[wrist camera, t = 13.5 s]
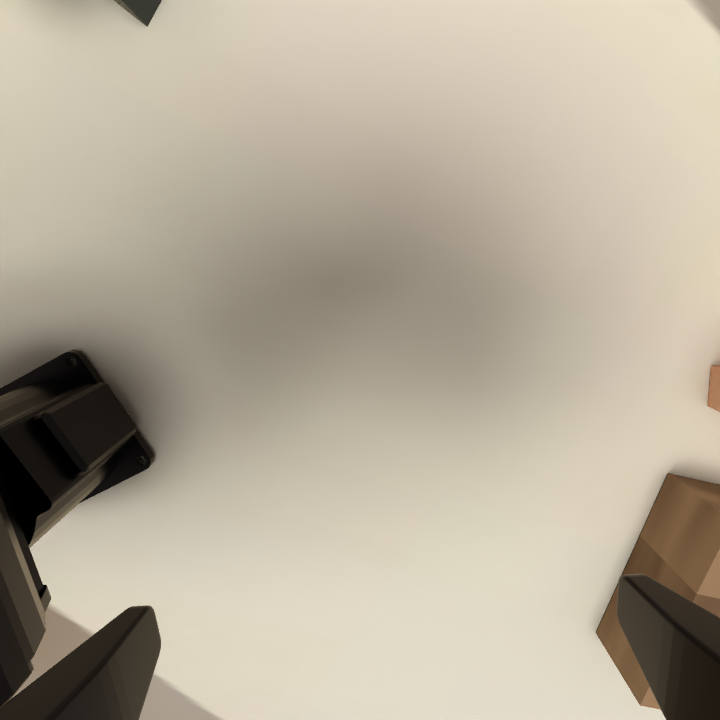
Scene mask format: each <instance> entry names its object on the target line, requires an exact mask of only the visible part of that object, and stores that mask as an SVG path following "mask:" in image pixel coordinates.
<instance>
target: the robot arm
mask: <svg viewBox="0 0 720 720" xmlns="http://www.w3.org/2000/svg"><path fill="white" fill-rule="evenodd" d="M71 357H72V358H74V359H75V360H76V362H77V366H76V365H74V364H73V363H72V361H71ZM139 456H142V457H144V458H145V460H146V462H143V461H141V460H140V458H139ZM153 462H154V454H153V452H152V451H151V449H150V448H149V446H148V445H147V444H146V442H145V441H144V439H143V438H142V436H141V435H140V433H139V432H138V431H137V429H136V425H135V424H134V423H133V421H132V420H131V418H130V417H129V415H128V414H127V412H126V411H125V410H124V408H123V407H122V405H121V404H120V402H119V401H118V399H117V398H116V397H115V395H114V394H113V392H112V391H111V389H110V388H109V386H108V385H107V384H105V383H104V382H103V380H102V379H101V377H100V376H99V374H98V373H97V371H96V370H95V369H94V367H93V366H92V364H91V363H90V361H89V360H88V358H87V357H86V356H85V355H84V354H83V353H82V352H81V351H79V350H72V351H69V352H66V353H64V354H62V355H60V356H58V357H57V358H55V359H53V360H51V361H49V362H48V363H46V364H44V365H42V366H40V367H39V368H37V369H35V370H33V371H31V372H30V373H28V374H26V375H24V376H22V377H21V378H19V379H17V380H15V381H13V382H12V383H10V384H8V385H6V386H4V387H3V388H1V389H0V720H139V717H140V714H141V711H142V708H143V705H144V701H145V698H146V695H147V692H148V689H149V685H150V682H151V679H152V676H153V673H154V670H155V666H156V663H157V660H158V657H159V653H160V649H161V638H160V633H159V629H158V625H157V620H156V616H155V612H154V609H153V608H152V607H151V606H133V607H130V608H128V609H126V610H125V611H124V612H122V613H121V614H120V615H118V616H117V617H116V618H115V619H113V620H112V621H111V622H109V623H108V624H107V625H106V626H104V627H103V628H102V629H101V630H99V631H98V632H97V633H95V634H94V635H93V636H92V637H90V638H89V639H88V640H86V641H85V642H84V643H83V644H81V645H80V646H79V647H78V648H76V649H75V650H74V651H72V652H71V653H70V654H68V655H67V656H66V657H65V658H63V659H62V660H61V661H59V662H58V663H57V664H56V665H54V666H53V667H52V668H51V669H49V670H48V671H47V672H45V673H44V674H43V675H42V676H40V677H39V678H38V679H36V680H35V681H34V682H33V683H31V684H30V685H29V686H27V687H26V688H25V689H24V690H22V691H21V692H20V693H19V694H18V695H16V696H15V697H13V696H14V694H15V693H16V692H17V691H18V689H19V688H20V687H21V686H22V685H23V683H24V682H25V681H26V680H27V678H28V677H29V675H30V674H31V673H32V671H33V669H34V668H33V664H32V661H31V659H32V658H33V656H34V655H35V652H36V650H37V648H38V646H39V644H40V642H41V640H42V638H43V635H44V633H45V631H46V627H45V626H46V623H45V612H46V609H47V607H48V605H49V602H50V600H51V596H50V593H49V590H48V587H47V586H46V585H43V584H42V581H41V578H40V576H39V573H38V570H37V568H36V565H35V562H34V560H33V557H32V554H31V552H30V549H29V548H30V547H31V546H32V545H33V544H34V543H36V542H37V541H38V540H39V539H40V538H41V537H42V536H43V535H44V534H45V533H47V532H48V531H49V530H50V529H51V528H52V527H53V526H54V525H55V524H56V523H57V522H59V521H60V520H61V519H62V518H63V517H64V516H65V515H66V514H67V513H68V512H70V511H71V510H72V509H73V508H74V507H75V506H76V505H77V504H79V503H81V502H83V501H85V500H87V499H88V498H90V497H92V496H94V495H96V494H98V493H100V492H102V491H104V490H106V489H108V488H110V487H112V486H114V485H116V484H118V483H120V482H122V481H124V480H126V479H128V478H130V477H132V476H134V475H136V474H138V473H140V472H142V471H144V470H146V469H147V468H149V467H150V466H151V465H152V464H153ZM616 610H617V618H618V621H619V624H620V626H621V628H622V630H623V632H624V634H625V637H626V639H627V641H628V643H629V645H630V647H631V649H632V651H633V653H634V655H635V657H636V659H637V661H638V664H639V666H640V668H641V670H642V672H643V674H644V676H645V678H646V680H647V682H648V684H649V686H650V688H651V691H652V693H653V695H654V697H655V699H656V701H657V703H658V705H659V707H660V709H661V711H662V713H663V714H664V716H665V718H666V720H720V617H718V616H716V615H714V614H713V613H711V612H709V611H707V610H706V609H704V608H702V607H700V606H699V605H697V604H695V603H694V602H692V601H690V600H688V599H687V598H685V597H683V596H681V595H680V594H678V593H676V592H674V591H673V590H671V589H669V588H668V587H666V586H664V585H662V584H661V583H659V582H657V581H655V580H654V579H652V578H650V577H648V576H646V575H644V574H628V575H622V576H621V577H620V579H619V583H618V596H617V608H616ZM12 697H13V698H12ZM11 698H12V699H11ZM10 699H11V700H10ZM9 700H10V701H9Z"/></svg>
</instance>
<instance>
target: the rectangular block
mask: <svg viewBox="0 0 720 720" xmlns="http://www.w3.org/2000/svg"><path fill="white" fill-rule="evenodd" d="M708 406H709V407H711V408H713V409H715V410H717V411H720V365H716V366H711V373H710V385H709V397H708Z"/></svg>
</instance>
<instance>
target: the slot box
mask: <svg viewBox="0 0 720 720" xmlns="http://www.w3.org/2000/svg"><path fill="white" fill-rule="evenodd" d="M628 574H644V575H646V576H648V577H650V578H652V579H654V580H655V581H657V582H659V583H661V584H662V585H664V586H666V587H668V588H669V589H671V590H673V591H674V592H676V593H678V594H680V595H681V596H683V597H685V598H687V599H688V600H690V601H692V602H694V603H695V604H697V605H699V606H700V607H702V608H704V609H706V610H707V611H709V612H711V613H713V614H714V615H716V616H718V617H720V485H717V484H713V483H708V482H704V481H699V480H695V479H691V478H686V477H682V476H677V475H673V474H668V475H667V477H666V479H665V481H664V484H663V486H662V488H661V490H660V493H659V495H658V497H657V499H656V501H655V504H654V506H653V508H652V510H651V512H650V515H649V517H648V519H647V521H646V523H645V526H644V528H643V530H642V532H641V535H640V537H639V539H638V541H637V543H636V546H635V548H634V550H633V552H632V554H631V557H630V559H629V561H628V563H627V565H626V568H625V570H624V572H623V574H622V575H628ZM617 596H618V585H617V588H616V590H615V592H614V594H613V596H612V599H611V601H610V603H609V605H608V607H607V610H606V612H605V614H604V616H603V619H602V621H601V623H600V625H599V627H598V630H597V632H596V634H597V636H598V637H599V639H600V640H601V642H602V644H603V645H604V647H605V649H606V650H607V652H608V654H609V655H610V657H611V658H612V660H613V662H614V663H615V665H616V667H617V668H618V670H619V672H620V673H621V675H622V677H623V678H624V680H625V681H626V683H627V685H628V686H629V688H630V690H631V691H632V693H633V695H634V696H635V698H636V699H637V701H638V703H639V704H640V705H641V706H646V707H651V708H656V709H660V707H659V705H658V703H657V701H656V699H655V697H654V695H653V693H652V691H651V688H650V686H649V684H648V682H647V680H646V678H645V676H644V674H643V672H642V670H641V668H640V666H639V664H638V661H637V659H636V657H635V655H634V653H633V651H632V649H631V647H630V645H629V643H628V641H627V639H626V637H625V634H624V632H623V630H622V628H621V626H620V624H619V621H618V618H617V610H616V608H617Z"/></svg>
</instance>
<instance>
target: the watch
mask: <svg viewBox="0 0 720 720" xmlns="http://www.w3.org/2000/svg"><path fill="white" fill-rule="evenodd" d="M114 1H116V2H117V3H118V4H119V5H121V6H122V7H123V8H124V9H126V10H127V11H128V12H129V13H131V14H132V15H133V16H134V17H136V18H137V19H138V20H139V21H141V22H142V23H143V24H145V25H146V26H148V24H149V22H150V20H151V18H152V17H153V15H154V13H155V11H156V9H157V7H158V6H159V4H160V2H161V0H114Z"/></svg>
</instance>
